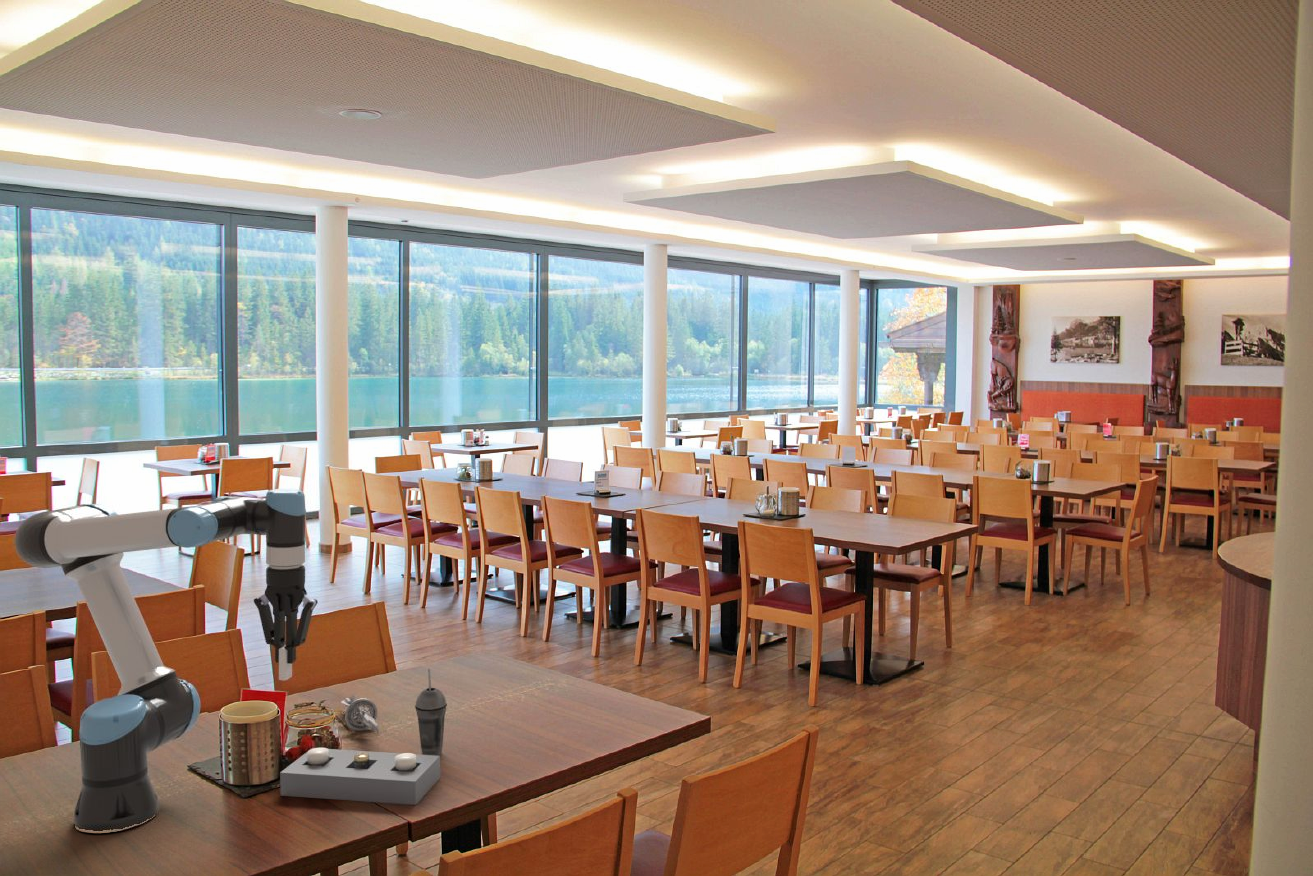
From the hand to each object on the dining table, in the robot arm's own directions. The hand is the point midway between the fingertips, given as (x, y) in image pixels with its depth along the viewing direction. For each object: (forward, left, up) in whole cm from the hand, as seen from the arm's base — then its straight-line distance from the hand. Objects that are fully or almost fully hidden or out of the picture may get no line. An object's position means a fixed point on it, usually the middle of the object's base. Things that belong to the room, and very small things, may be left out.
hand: (285, 678), depth 210 cm
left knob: (+10, -1, -24) cm, 26 cm away
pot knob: (+10, -11, -23) cm, 27 cm away
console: (+10, -11, -27) cm, 31 cm away
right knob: (+10, -21, -24) cm, 34 cm away
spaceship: (+42, +4, -27) cm, 50 cm away
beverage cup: (+30, -19, -27) cm, 45 cm away
